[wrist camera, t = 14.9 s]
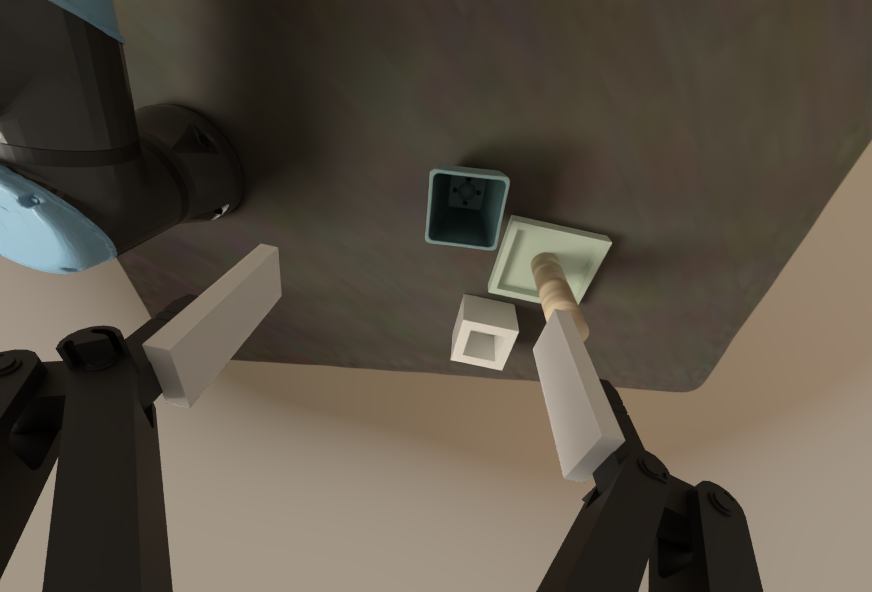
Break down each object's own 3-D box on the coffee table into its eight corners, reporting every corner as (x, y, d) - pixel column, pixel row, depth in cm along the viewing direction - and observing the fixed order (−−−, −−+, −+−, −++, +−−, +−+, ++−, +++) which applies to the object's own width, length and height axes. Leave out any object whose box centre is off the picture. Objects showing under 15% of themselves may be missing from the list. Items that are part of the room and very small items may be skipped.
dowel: (526, 272, 50) (545, 343, 37) (536, 249, 48) (559, 316, 35) (551, 278, 51) (579, 350, 37) (562, 255, 48) (595, 323, 35)
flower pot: (437, 152, 43) (429, 168, 35) (505, 159, 43) (511, 177, 35) (432, 216, 48) (424, 243, 40) (492, 223, 48) (496, 251, 40)
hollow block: (453, 332, 60) (450, 359, 54) (464, 293, 55) (463, 319, 49) (499, 341, 60) (501, 370, 54) (514, 304, 55) (519, 331, 49)
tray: (487, 284, 53) (488, 292, 51) (511, 214, 46) (513, 220, 45) (571, 302, 54) (575, 310, 52) (606, 235, 47) (612, 242, 45)
